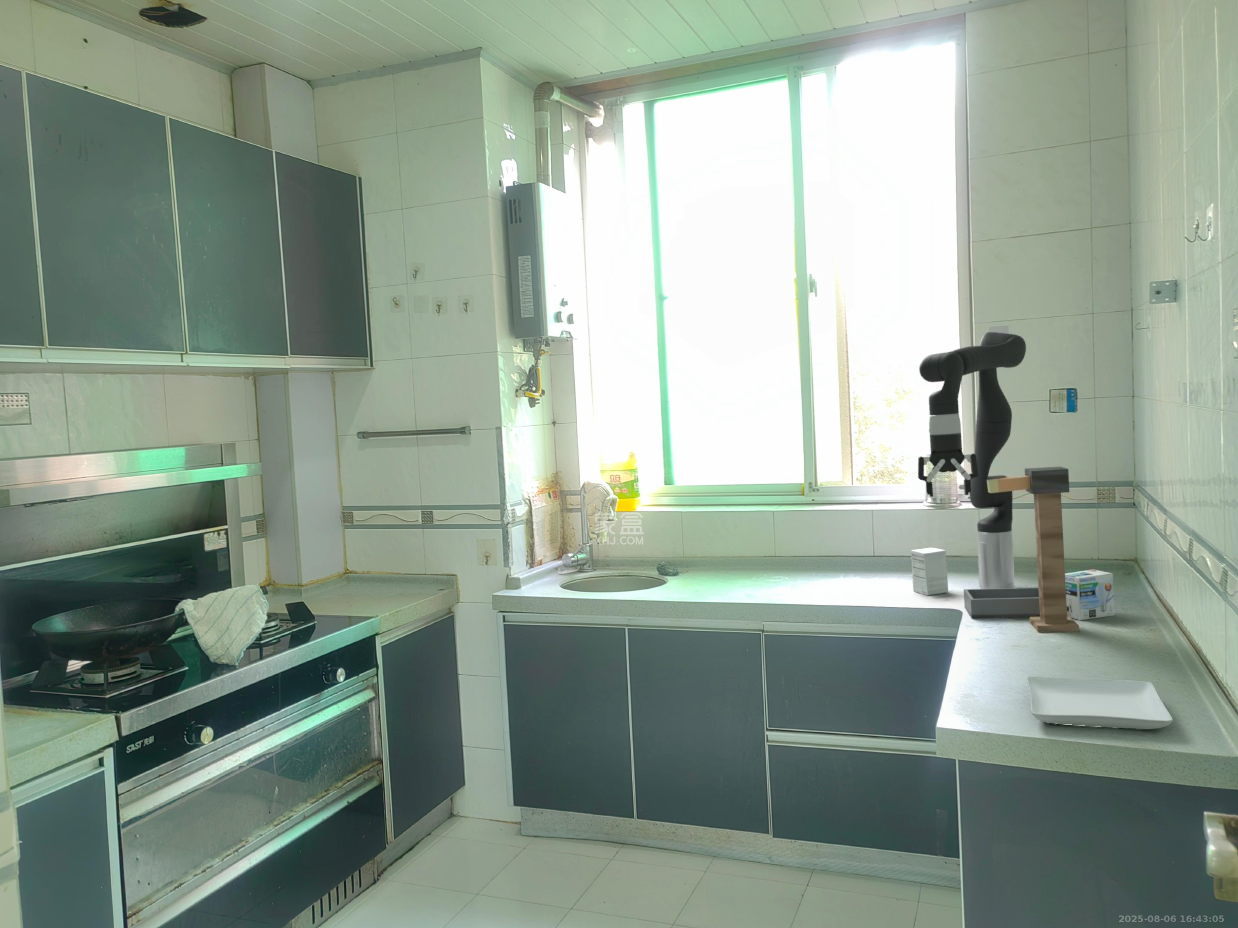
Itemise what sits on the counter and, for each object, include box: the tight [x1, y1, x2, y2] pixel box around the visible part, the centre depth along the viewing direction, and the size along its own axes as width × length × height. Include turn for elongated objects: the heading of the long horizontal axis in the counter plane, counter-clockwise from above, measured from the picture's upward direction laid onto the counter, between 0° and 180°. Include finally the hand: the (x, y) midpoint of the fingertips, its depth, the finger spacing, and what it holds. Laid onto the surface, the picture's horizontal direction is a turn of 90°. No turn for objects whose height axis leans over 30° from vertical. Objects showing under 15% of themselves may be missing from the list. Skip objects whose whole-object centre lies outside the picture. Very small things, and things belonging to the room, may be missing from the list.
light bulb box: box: [1065, 569, 1115, 621], centre depth 225 cm, size 11×7×11 cm, turn 105°
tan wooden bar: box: [987, 475, 1030, 493], centre depth 217 cm, size 3×14×3 cm, turn 77°
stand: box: [1024, 466, 1080, 633], centre depth 216 cm, size 9×9×38 cm
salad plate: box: [1025, 675, 1173, 730], centre depth 160 cm, size 21×21×3 cm
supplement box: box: [910, 547, 949, 596], centre depth 265 cm, size 7×7×13 cm
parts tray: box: [963, 586, 1040, 620], centre depth 235 cm, size 13×20×5 cm, turn 77°
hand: (948, 495), depth 229 cm, fingers open, 8 cm apart
